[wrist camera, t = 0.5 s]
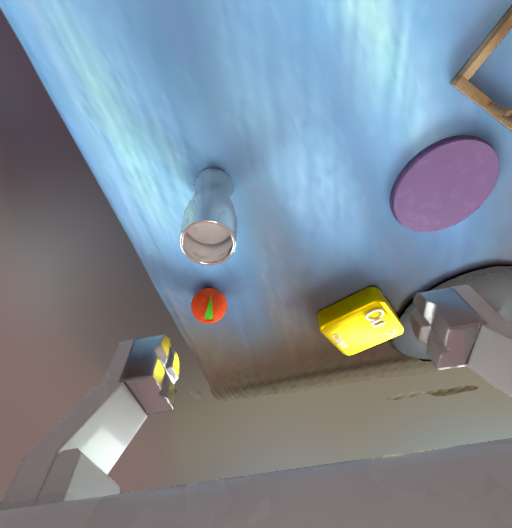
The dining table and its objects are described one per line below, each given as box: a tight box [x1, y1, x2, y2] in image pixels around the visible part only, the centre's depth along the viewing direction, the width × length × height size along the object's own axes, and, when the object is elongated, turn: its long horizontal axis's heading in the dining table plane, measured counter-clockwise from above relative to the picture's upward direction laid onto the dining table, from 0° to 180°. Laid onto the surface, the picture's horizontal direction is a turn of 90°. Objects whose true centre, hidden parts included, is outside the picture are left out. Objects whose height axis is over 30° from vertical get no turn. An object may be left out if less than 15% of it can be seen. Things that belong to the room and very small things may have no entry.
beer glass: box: [180, 168, 237, 265], centre depth 41 cm, size 7×7×15 cm
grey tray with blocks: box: [392, 266, 512, 361], centre depth 70 cm, size 35×35×9 cm
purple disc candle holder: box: [390, 136, 499, 232], centre depth 49 cm, size 16×16×1 cm
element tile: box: [317, 287, 404, 356], centre depth 68 cm, size 15×15×5 cm
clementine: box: [191, 288, 227, 323], centre depth 59 cm, size 8×7×7 cm
